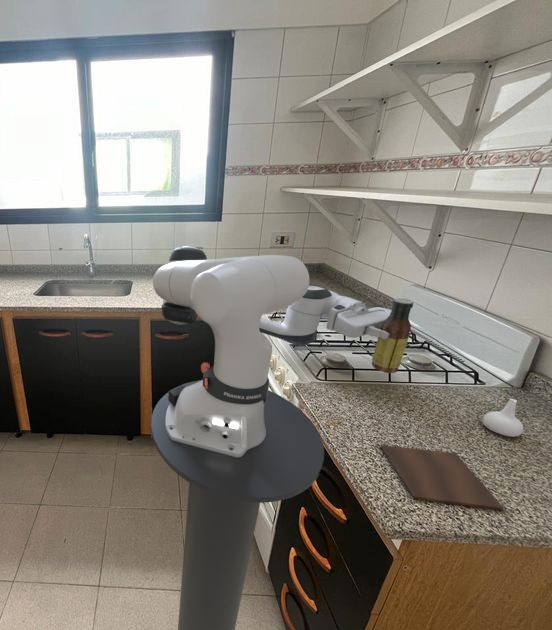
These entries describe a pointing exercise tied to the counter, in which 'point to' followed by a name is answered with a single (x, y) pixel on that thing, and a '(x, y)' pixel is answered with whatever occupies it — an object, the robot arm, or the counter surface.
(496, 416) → the garlic bulb
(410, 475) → the walnut board
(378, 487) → the counter surface
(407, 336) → the sauce bottle
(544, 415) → the counter surface
